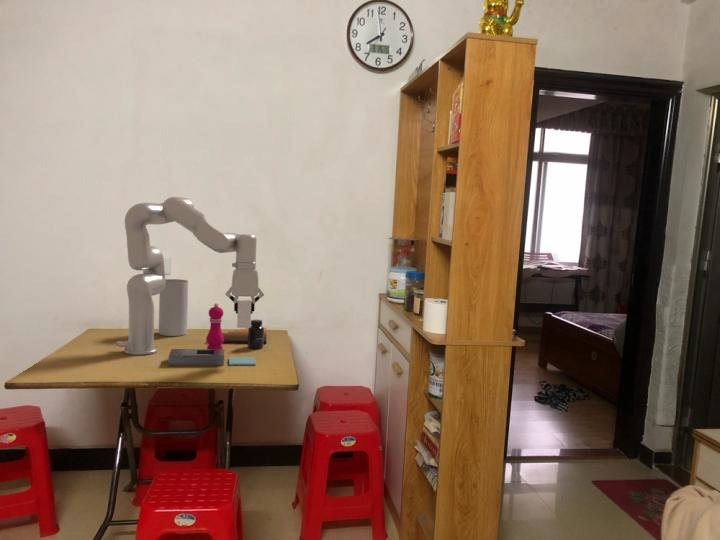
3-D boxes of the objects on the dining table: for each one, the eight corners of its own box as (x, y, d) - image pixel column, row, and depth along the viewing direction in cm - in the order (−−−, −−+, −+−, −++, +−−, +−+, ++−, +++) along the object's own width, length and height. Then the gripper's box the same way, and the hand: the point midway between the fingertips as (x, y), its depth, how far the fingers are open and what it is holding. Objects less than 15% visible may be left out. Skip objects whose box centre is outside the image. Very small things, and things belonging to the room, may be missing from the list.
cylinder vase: (181, 337, 264) (183, 283, 262) (154, 335, 264) (155, 281, 262) (190, 332, 277) (191, 280, 274) (164, 330, 277) (165, 278, 275)
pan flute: (208, 344, 256) (266, 345, 260) (209, 337, 255) (266, 338, 259) (213, 332, 280) (266, 333, 284) (213, 325, 280) (266, 327, 284)
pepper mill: (227, 349, 246) (228, 303, 244) (216, 353, 239) (217, 305, 237) (213, 347, 249) (214, 301, 247) (202, 350, 242) (203, 303, 240)
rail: (168, 365, 216) (168, 355, 216) (171, 359, 226) (171, 349, 225) (223, 365, 220) (224, 355, 220) (224, 359, 230) (224, 349, 230)
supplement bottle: (259, 350, 248) (260, 322, 247) (244, 348, 250) (245, 321, 249) (265, 346, 255) (266, 319, 254) (251, 345, 256) (252, 318, 255)
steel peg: (237, 327, 222) (238, 302, 222) (237, 325, 227) (237, 300, 226) (250, 327, 224) (251, 302, 223) (250, 325, 228) (250, 300, 227)
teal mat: (229, 365, 221) (229, 363, 221) (229, 359, 231) (229, 357, 230) (255, 365, 223) (255, 363, 223) (254, 359, 233) (254, 357, 233)
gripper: (222, 266, 218) (221, 314, 219) (268, 268, 221) (266, 315, 223) (223, 265, 225) (221, 311, 227) (267, 266, 229) (265, 311, 230)
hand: (244, 312), depth 225 cm, fingers closed on steel peg, 5 cm apart
